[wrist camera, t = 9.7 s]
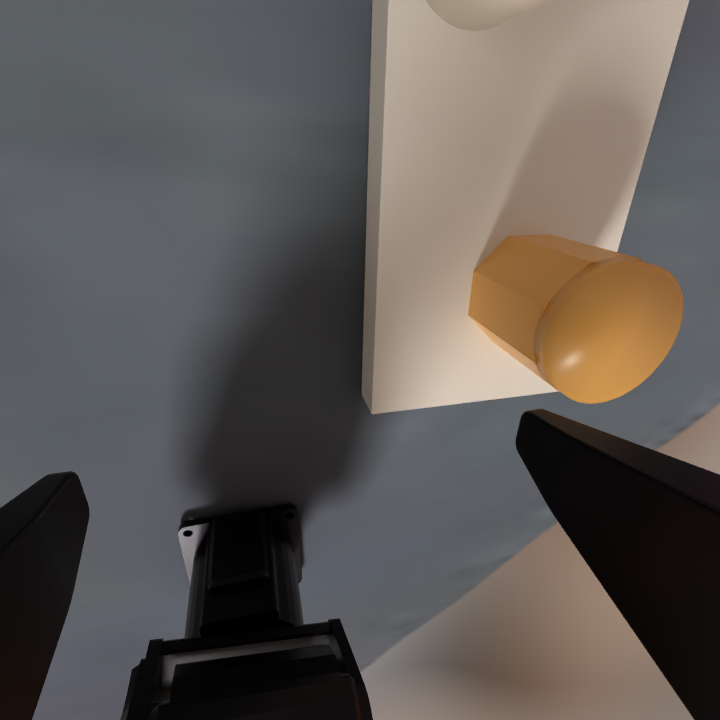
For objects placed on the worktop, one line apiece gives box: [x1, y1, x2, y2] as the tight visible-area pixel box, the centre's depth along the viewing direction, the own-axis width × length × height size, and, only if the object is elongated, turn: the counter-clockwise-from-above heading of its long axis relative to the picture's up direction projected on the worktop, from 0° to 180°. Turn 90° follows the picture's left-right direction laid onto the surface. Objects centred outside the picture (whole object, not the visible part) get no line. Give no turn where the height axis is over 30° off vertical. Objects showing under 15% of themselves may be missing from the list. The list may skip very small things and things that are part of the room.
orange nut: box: [468, 234, 683, 404], centre depth 17 cm, size 5×5×6 cm
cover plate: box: [362, 0, 689, 414], centre depth 16 cm, size 20×12×8 cm, turn 178°
